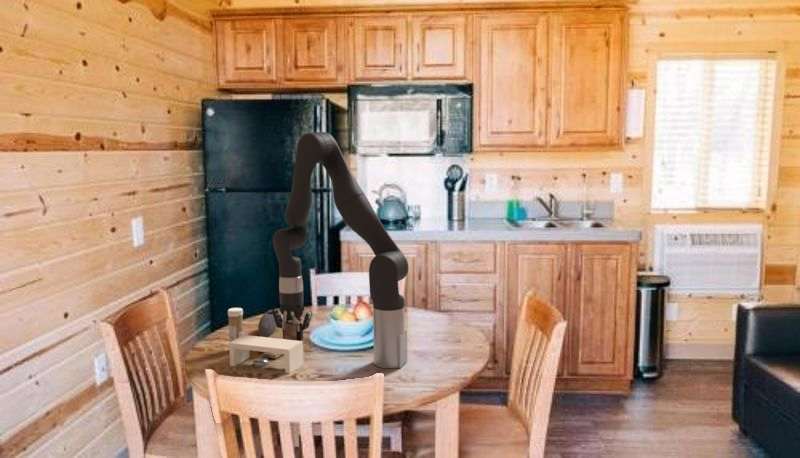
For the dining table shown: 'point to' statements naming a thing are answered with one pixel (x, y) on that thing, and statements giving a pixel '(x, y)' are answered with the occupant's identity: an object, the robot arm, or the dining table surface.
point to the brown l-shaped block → (285, 337)
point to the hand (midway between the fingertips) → (293, 340)
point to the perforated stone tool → (267, 324)
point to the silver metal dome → (260, 362)
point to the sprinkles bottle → (235, 323)
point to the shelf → (267, 350)
